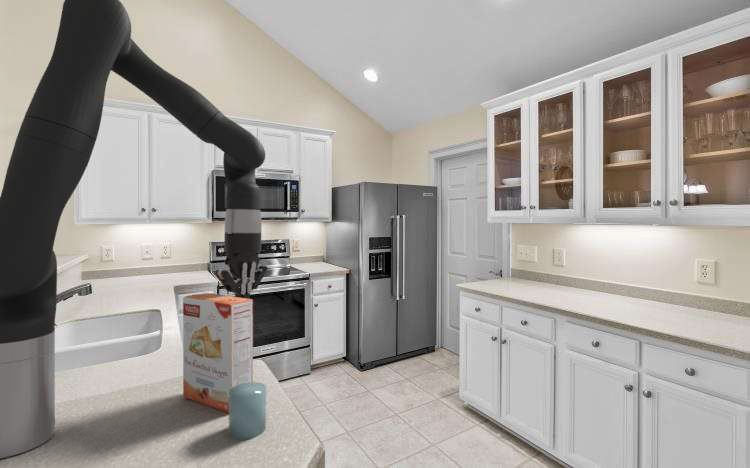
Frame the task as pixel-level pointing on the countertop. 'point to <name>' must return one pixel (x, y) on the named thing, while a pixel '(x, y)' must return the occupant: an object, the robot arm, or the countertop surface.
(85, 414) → the countertop surface
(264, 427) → the pale blue rounded cylinder
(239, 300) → the cracker box
